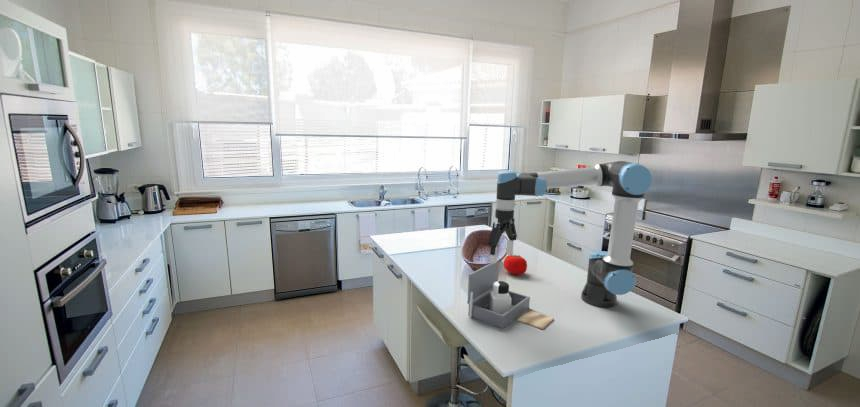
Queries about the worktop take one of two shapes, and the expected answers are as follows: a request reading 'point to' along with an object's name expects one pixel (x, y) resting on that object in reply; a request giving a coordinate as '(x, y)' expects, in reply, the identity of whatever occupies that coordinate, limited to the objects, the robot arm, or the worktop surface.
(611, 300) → the robot arm
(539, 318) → the mat
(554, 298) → the worktop surface
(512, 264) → the tomato
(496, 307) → the container
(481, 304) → the case
